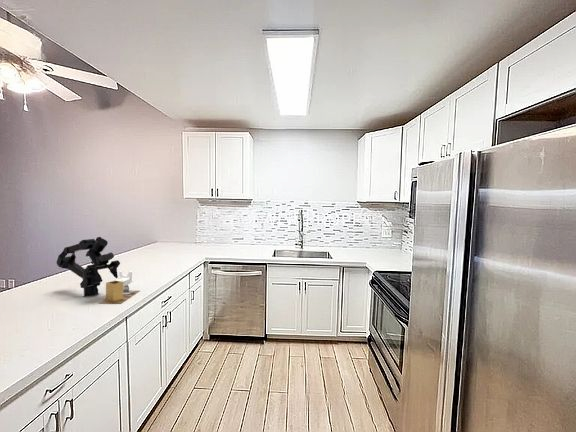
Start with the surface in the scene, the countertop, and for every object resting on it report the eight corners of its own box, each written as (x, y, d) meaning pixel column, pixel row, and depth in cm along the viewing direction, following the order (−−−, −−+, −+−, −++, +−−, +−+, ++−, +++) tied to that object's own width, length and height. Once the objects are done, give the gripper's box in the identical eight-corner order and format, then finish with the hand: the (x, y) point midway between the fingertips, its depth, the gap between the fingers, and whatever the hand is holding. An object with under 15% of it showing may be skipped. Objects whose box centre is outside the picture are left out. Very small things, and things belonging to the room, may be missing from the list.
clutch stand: (121, 306, 184) (120, 295, 183) (97, 306, 183) (97, 295, 183) (140, 293, 210) (140, 283, 209) (120, 292, 209) (120, 282, 209)
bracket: (121, 282, 235) (121, 271, 235) (131, 282, 235) (131, 271, 235) (111, 287, 222) (111, 275, 222) (123, 287, 222) (123, 275, 222)
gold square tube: (113, 302, 185) (113, 284, 185) (106, 301, 188) (105, 282, 188) (123, 299, 191) (123, 281, 190) (115, 298, 193) (115, 280, 193)
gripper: (86, 250, 184) (100, 273, 179) (118, 246, 200) (131, 267, 196) (77, 263, 188) (90, 286, 183) (109, 258, 204) (121, 279, 200)
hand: (109, 279), depth 191 cm, fingers open, 9 cm apart
